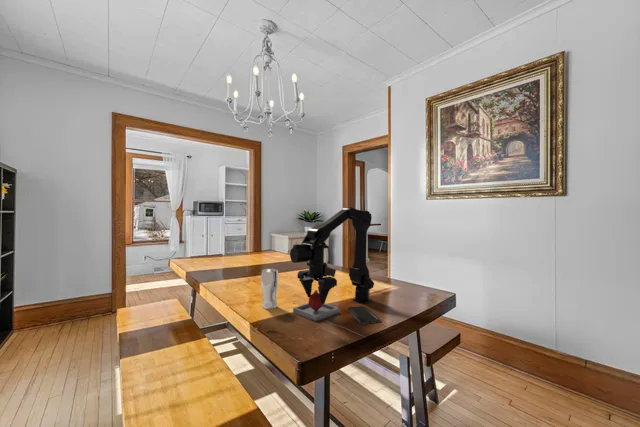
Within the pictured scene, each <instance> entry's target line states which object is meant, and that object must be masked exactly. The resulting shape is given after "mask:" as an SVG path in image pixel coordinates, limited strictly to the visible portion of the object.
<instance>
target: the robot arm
mask: <svg viewBox="0 0 640 427" xmlns="http://www.w3.org/2000/svg"><path fill="white" fill-rule="evenodd" d="M372 216H373V215H372V213H370V211H369V210H361V209H356V208H353V207H348V206H345V207H342V208H341V210H339V211H338V212H337V213H335V214H334V215H332V216H331V217H330V218H328V219H327V220H326V221H325V222H324V221H323V223H320V224H316V225H315V226H312V227H310V228H309V229H308V230H307V232H306V235H305V237H304V238H303V240H302V242H301V244H300V243H298V244H297V243H293V246H292V248H291V250H290V252H289V257H290V261H291V263H294V264H296V263H305V262H306V266H308V269H305V270H299V271H298V272H297V279H299V282H300V283H301V285H302V287H303V289H304V291H305V294H306V297H307V298H308V299H309V297H310V296H311V295H312V291H313V290H312V289H313V288H312V287H313V283H314V281H315V282H317V284H318V286H317V291H318V293H319V295H320V299H321V303H322V304H324V303H325V302H326V301H327V298H328V295H329V292H330V290H331V289H333V288H335V287H337V286H338V280H337V278H336V277H335V276H336V272H337V269H335V268H332V267H328V264H327V263H326V262H324V260H325V253H324V252H325V249H329V245H328V244H326V243H325V242H326V241H327V240H328V239H329V237H330V236H331V233H332V232H334V230H336V229H337V228H338V227H339V226H341V225H342V224H343V223H345V222H346V221H347V220H350V221H351V224H352V226H353V228H354V230H355V231H354V232H355V233H354V234H355V236H354V238H355V239H354V259H353V260H354V261H353V262H354V263H353V265H352V266H349V268H348V272H349V273H348V277H349V280H350V281H351V285H352V286H355V290H354V291H355V292H354V293H355V295H354V298H352V301H355V302H357V303H361V304H366V303H368V302H372V301H373V298H370V293H371V292H370V290H372V289H373V288H374V286H375V282H374V281H373V280H372V278H371V277H370V270H369V268H368V265H367V242H368V241H367V240H368V239H367V238H368V237H367V236H368V234H367V233H368V232H367V231H368V230H369V228H370V227H371V224H372ZM325 304H326V303H325Z"/></svg>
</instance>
